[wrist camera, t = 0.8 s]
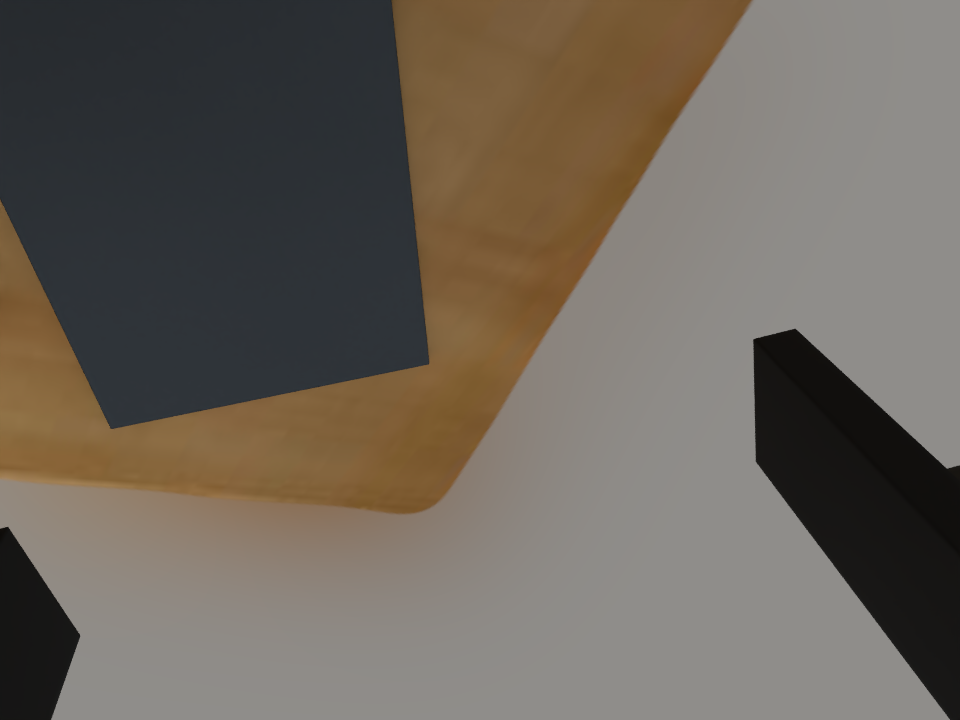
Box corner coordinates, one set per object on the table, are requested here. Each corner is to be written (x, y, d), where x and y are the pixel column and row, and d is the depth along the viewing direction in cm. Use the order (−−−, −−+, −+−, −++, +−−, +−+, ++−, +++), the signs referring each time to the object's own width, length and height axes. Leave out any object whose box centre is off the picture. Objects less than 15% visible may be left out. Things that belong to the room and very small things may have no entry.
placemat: (-102, -25, 28) (-106, -21, 28) (381, -76, 31) (384, -73, 31) (111, 423, 42) (110, 429, 42) (427, 358, 45) (429, 364, 45)
